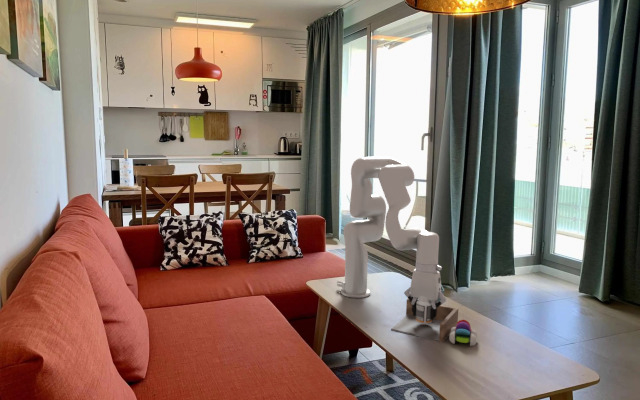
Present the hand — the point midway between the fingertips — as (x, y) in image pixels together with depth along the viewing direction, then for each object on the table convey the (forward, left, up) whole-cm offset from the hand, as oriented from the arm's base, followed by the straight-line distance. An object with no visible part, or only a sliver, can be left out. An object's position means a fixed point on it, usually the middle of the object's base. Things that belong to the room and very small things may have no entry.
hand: (423, 316), depth 175 cm
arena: (0, 0, -4) cm, 4 cm away
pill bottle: (0, 0, -2) cm, 2 cm away
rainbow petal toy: (+15, -6, -4) cm, 17 cm away
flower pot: (-4, +20, -4) cm, 21 cm away
